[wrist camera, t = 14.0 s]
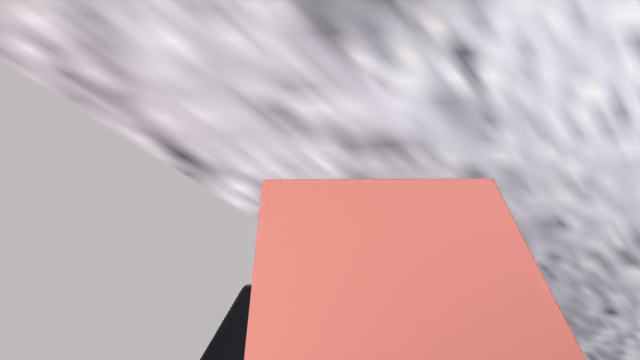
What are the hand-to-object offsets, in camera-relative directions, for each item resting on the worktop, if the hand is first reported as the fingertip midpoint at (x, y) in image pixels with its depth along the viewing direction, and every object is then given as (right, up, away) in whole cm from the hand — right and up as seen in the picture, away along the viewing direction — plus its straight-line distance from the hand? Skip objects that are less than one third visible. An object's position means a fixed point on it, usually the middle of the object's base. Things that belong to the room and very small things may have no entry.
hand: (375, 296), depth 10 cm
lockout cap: (0, +1, +1) cm, 1 cm away
